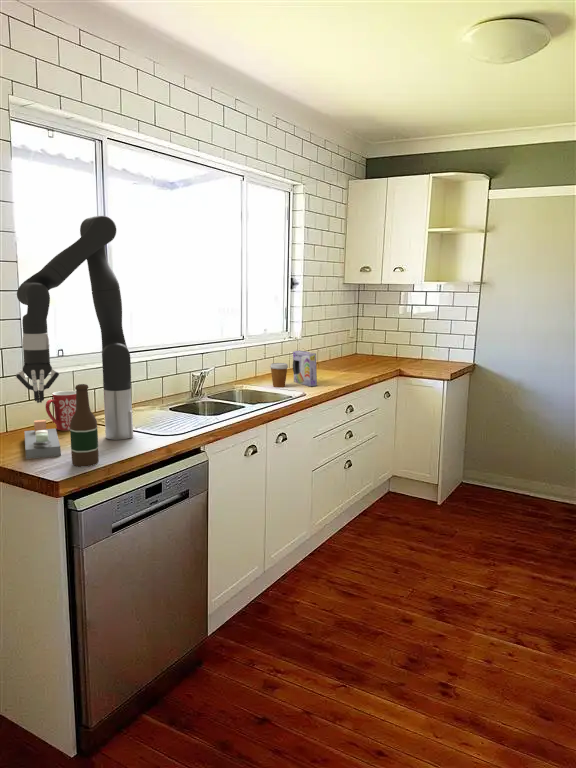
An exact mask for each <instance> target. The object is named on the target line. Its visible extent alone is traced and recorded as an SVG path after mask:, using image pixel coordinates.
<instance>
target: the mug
mask: <svg viewBox="0 0 576 768" xmlns="http://www.w3.org/2000/svg"><path fill="white" fill-rule="evenodd" d="M51 395H52V399H48V400H47V401H46V403H45V412H46V414H47V416H48V418H49V419H51V421H52V422H53V423H54V424H55V425H56V426H55V427H56V431H70V422H71V419H72V417H73V415H74V414H75V411H76V391H75V390H61V391H55V392H52V393H51ZM51 403H53V407H54V415H53V414H52V412H51V409H50V406H51ZM54 416H55V417H54Z"/></svg>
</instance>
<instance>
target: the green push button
mask: <svg viewBox="0 0 576 768" xmlns="http://www.w3.org/2000/svg"><path fill="white" fill-rule="evenodd" d="M47 441H49V438H48V434H47V433H40V434H36V442H47Z"/></svg>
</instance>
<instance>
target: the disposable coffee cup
mask: <svg viewBox="0 0 576 768" xmlns="http://www.w3.org/2000/svg"><path fill="white" fill-rule="evenodd" d="M269 367H270V373H271V380H272V387H273V388H284V387H285V388H286V381H287V373H288V368H289V366H288V363H285V362H273V363H270V366H269Z"/></svg>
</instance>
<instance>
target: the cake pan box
mask: <svg viewBox="0 0 576 768" xmlns="http://www.w3.org/2000/svg"><path fill="white" fill-rule="evenodd" d="M292 372H293V383H296V384H300V385H303V386H307V387H317V385H318V381H317V379H318V378H317V377H318V375H317V353H314V352H310V351H304V350H294V351H292Z"/></svg>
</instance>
